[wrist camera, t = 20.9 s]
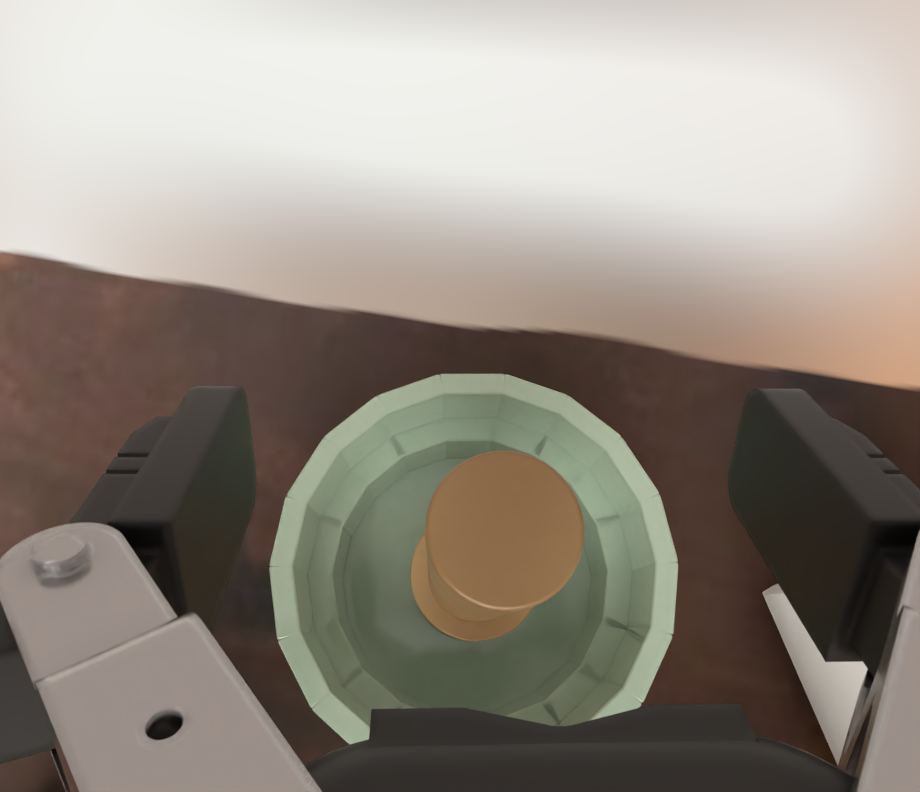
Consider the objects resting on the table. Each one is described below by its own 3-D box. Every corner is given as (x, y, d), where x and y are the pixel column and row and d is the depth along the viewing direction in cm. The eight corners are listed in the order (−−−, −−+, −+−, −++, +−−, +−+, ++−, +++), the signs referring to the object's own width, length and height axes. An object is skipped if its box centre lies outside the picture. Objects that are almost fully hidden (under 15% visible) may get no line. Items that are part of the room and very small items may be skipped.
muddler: (402, 629, 23) (372, 622, 12) (424, 514, 24) (417, 403, 13) (518, 651, 23) (603, 664, 12) (535, 533, 24) (627, 440, 13)
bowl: (272, 725, 23) (223, 751, 17) (343, 402, 26) (321, 342, 21) (607, 783, 23) (660, 828, 17) (638, 451, 26) (691, 403, 20)
